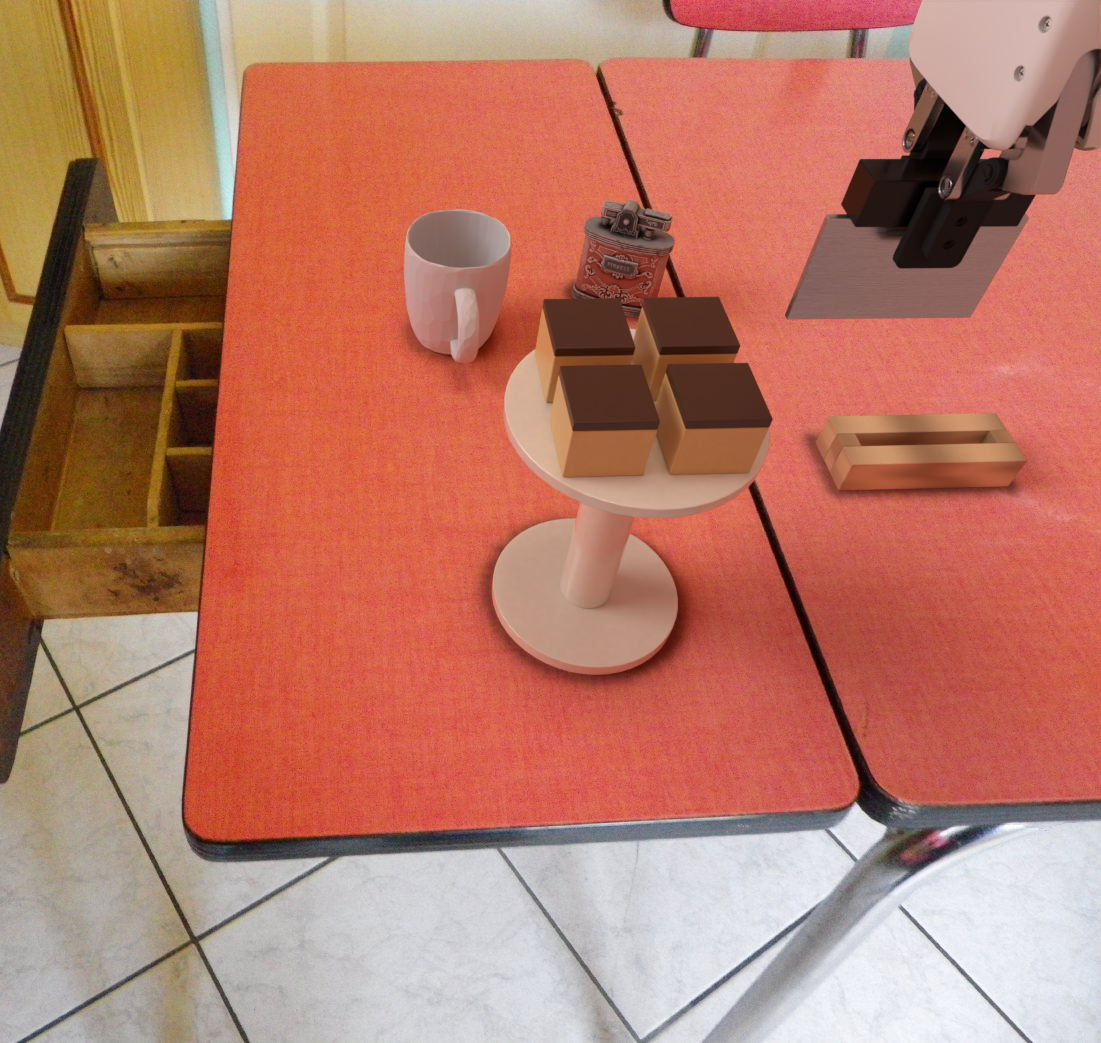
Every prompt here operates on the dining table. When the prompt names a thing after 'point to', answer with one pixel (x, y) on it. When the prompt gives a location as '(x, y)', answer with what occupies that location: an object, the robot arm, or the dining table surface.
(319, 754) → the dining table surface
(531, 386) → the cake stand
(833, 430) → the knife block
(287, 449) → the dining table surface
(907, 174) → the knife
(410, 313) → the mug
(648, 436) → the cake
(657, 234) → the lighter
